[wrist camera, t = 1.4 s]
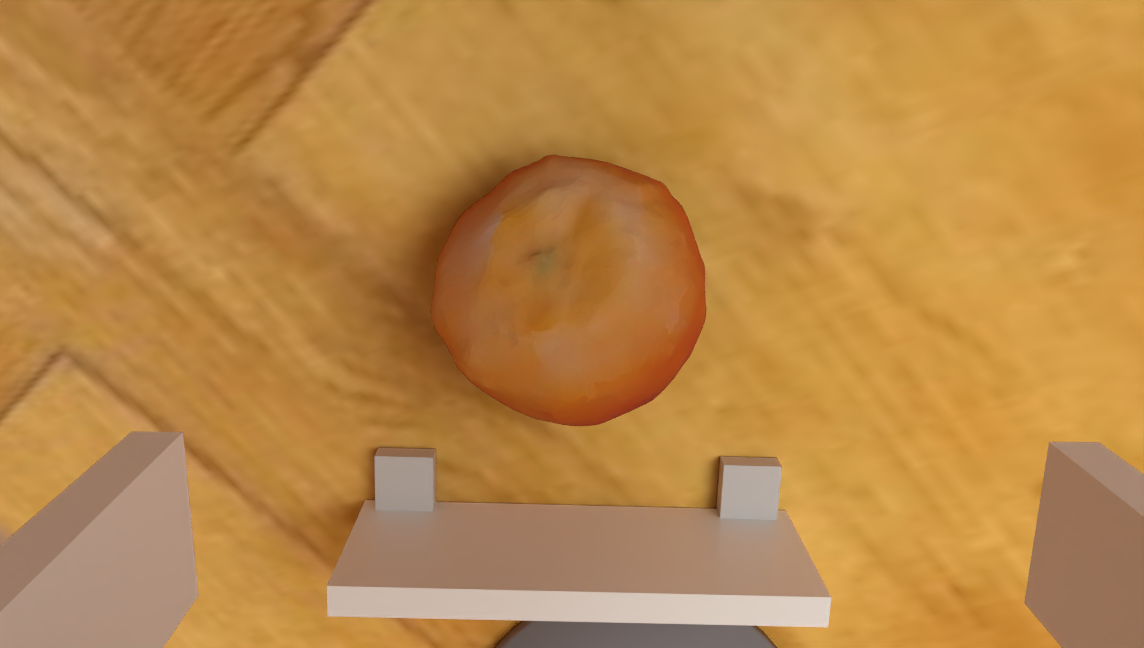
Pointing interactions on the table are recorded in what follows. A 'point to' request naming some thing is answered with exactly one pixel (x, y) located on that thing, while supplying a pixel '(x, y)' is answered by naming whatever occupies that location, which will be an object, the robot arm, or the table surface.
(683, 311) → the fruit
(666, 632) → the mat
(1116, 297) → the table surface
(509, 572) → the wall
